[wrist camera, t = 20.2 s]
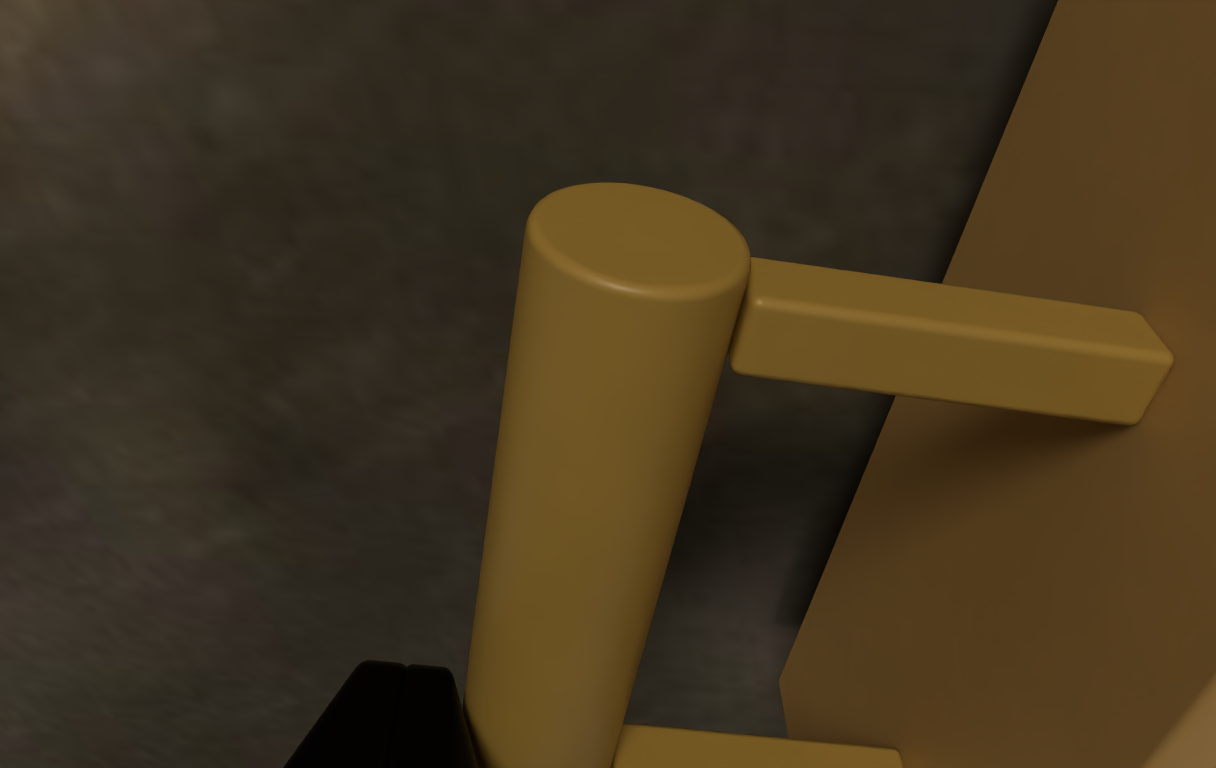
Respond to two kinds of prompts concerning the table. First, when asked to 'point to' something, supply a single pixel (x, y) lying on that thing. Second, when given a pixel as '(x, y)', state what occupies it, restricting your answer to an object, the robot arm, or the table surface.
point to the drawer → (895, 448)
